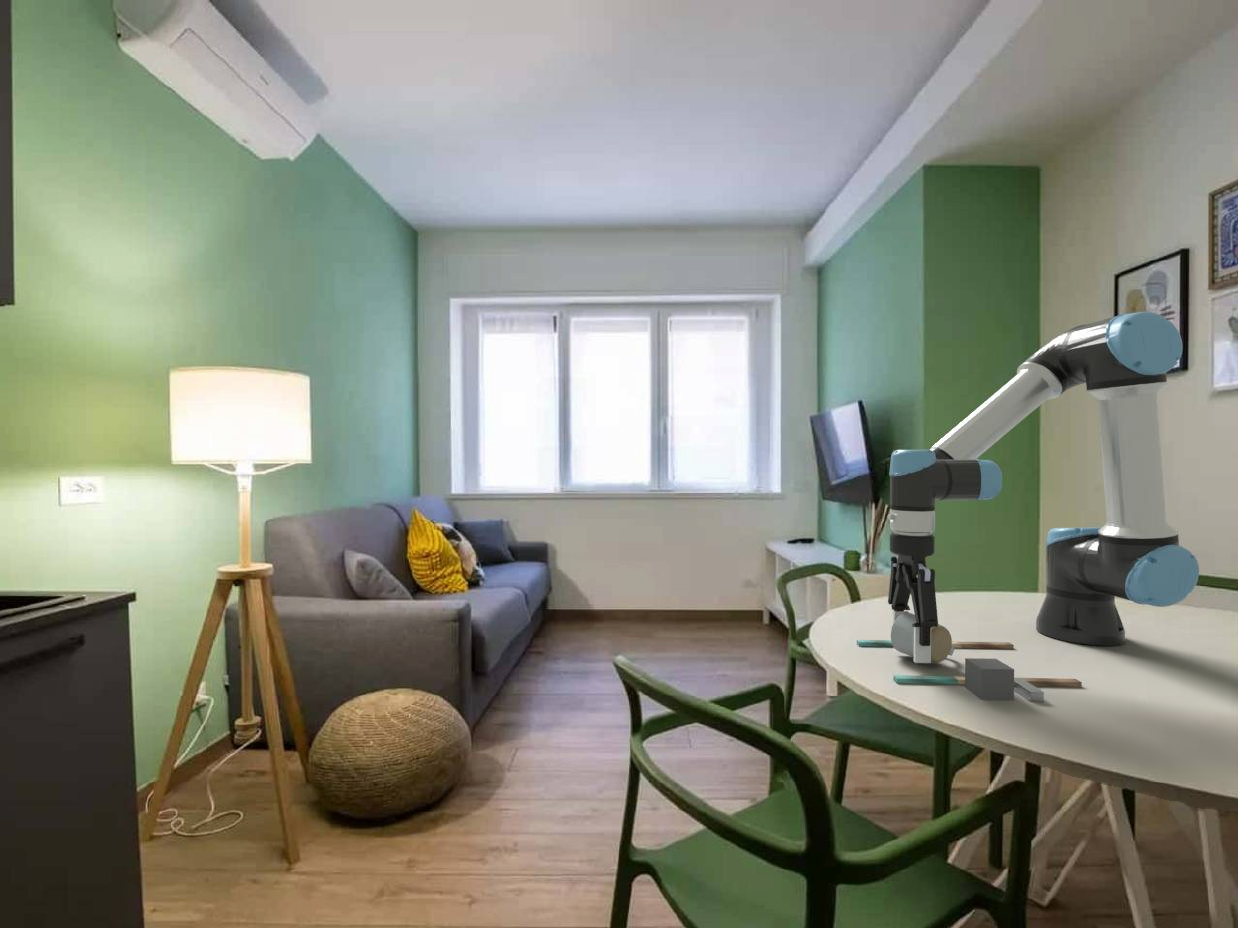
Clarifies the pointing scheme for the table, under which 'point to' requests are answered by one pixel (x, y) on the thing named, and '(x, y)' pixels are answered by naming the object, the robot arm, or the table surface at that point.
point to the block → (989, 679)
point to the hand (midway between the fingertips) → (910, 653)
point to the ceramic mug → (905, 638)
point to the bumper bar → (1028, 690)
